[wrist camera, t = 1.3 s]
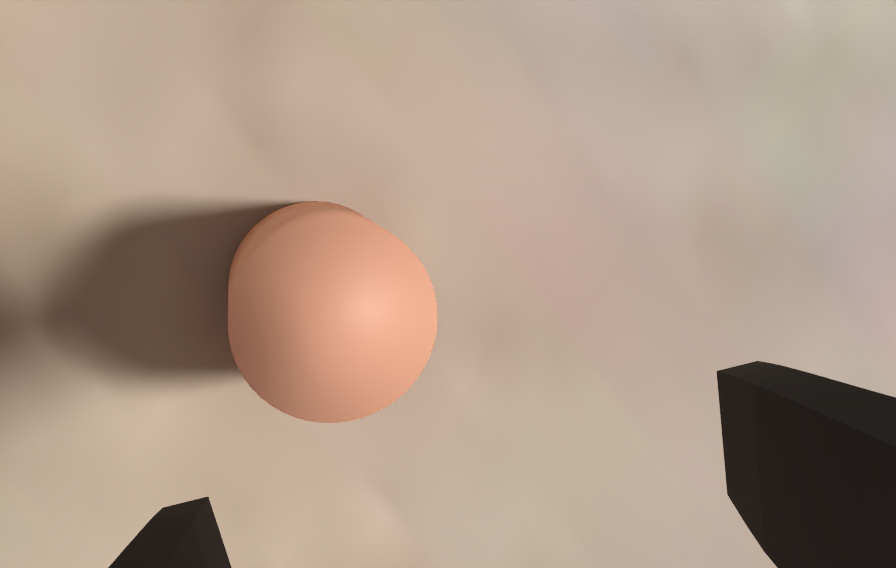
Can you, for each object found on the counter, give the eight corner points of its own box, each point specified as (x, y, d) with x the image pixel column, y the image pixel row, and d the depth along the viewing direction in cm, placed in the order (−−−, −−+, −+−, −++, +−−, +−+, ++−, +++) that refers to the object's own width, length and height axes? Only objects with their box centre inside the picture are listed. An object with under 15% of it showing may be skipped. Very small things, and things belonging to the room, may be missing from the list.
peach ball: (268, 393, 22) (277, 456, 18) (199, 239, 21) (191, 266, 17) (421, 328, 23) (465, 372, 19) (363, 176, 22) (395, 186, 18)
